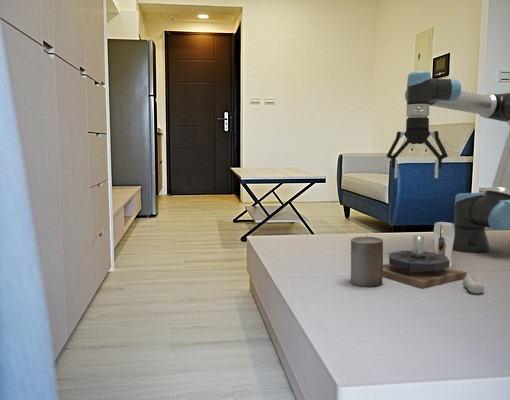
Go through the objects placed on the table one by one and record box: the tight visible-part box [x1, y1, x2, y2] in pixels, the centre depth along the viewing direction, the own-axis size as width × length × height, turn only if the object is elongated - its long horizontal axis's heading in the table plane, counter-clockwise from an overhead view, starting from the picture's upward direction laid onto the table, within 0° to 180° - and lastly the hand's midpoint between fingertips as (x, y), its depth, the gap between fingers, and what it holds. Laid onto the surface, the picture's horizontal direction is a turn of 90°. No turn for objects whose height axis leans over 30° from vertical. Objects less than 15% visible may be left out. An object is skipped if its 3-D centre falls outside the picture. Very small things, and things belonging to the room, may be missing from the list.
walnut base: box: [382, 263, 468, 289], centre depth 154 cm, size 21×21×2 cm
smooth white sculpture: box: [462, 274, 485, 295], centre depth 138 cm, size 4×8×5 cm
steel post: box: [412, 234, 425, 271], centre depth 154 cm, size 4×4×11 cm
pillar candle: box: [350, 234, 384, 288], centre depth 146 cm, size 10×10×15 cm
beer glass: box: [433, 221, 455, 268], centre depth 166 cm, size 7×7×15 cm
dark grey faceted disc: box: [388, 250, 450, 271], centre depth 154 cm, size 18×18×2 cm
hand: (415, 178), depth 167 cm, fingers open, 13 cm apart
